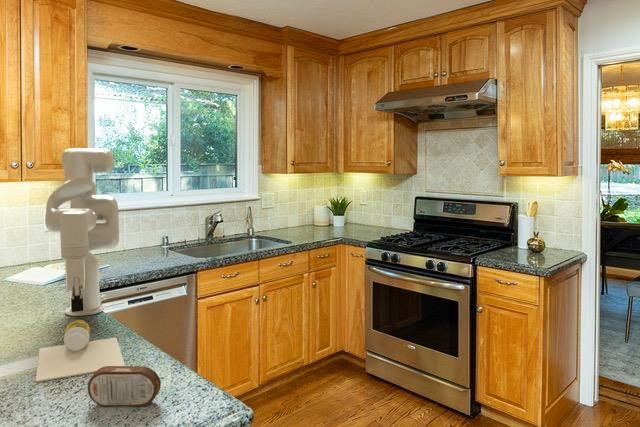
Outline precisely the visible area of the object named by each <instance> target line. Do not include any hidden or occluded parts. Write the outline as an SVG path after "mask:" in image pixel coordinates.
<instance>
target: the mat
mask: <svg viewBox="0 0 640 427" xmlns="http://www.w3.org/2000/svg"><path fill="white" fill-rule="evenodd" d="M37 360H38V361H37V368H36V377H35V383H41V382H42V383H43V382H47V381H52V380H53V381H54V380H58V379H66V378H71V376H72V377H76V376H77V375H78V376H83V375H89V374H94V372H96V371H97V370H98V369H100V368H102V367H105V366H126V364H125V360H124V357H123V355H122V351H121V348H120V345H119V343H118V340H117V337H110V338H104V339H97V340H89V342H88V343H87V345H86V346H85V347H83V348H82V349H80V350H77V351H73V350H71V349H69V348H68V347H67V346H66V345H65V344H63V345H62V344H61V345H54V346H47V347H41V348H40V347H39V352H38V359H37Z"/></svg>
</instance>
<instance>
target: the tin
mask: <svg viewBox="0 0 640 427" xmlns="http://www.w3.org/2000/svg"><path fill="white" fill-rule="evenodd" d="M92 374H93V375H92V376H91V377H90V379H89V381H88V383H87V392H88V396H89V398H90V399H91V401H92V402H93V403H95V404H97V405H99V406H101V407H105V406H141V407H145V406H148V405H149V404H151V403H152V402H153V401H154V400H155V398H156V397H157V396H158V394H159V392H160V390H161V384H162V383H161V379H160V376H159V375H158V374H157V372H156V371H155V370H154V369H152V368H150V367H147V366H144V365H138V366H137V365H133V366H132V365H129V366H128V365H125V366H105V367H102V368H100V369H98V370H97V371H96V372H95V373H92Z"/></svg>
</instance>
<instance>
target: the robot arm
mask: <svg viewBox="0 0 640 427" xmlns="http://www.w3.org/2000/svg"><path fill="white" fill-rule="evenodd" d="M61 163H62V164H61V165H62V168H63V172H64V179H63V180H64V181H63V183H62V184H60V185H59V186H58V187H56V188H55V189H54V191H52V193H51V194H50V196H49V197H48V198H47V201H46V208H45V216H44V217H45V218H44V220H45V227H46V229H47V230H48V231H49V232H51V233H59V234H60V236H59V237H60V238H59V239H60V254H61V255H60V258H62V259H64V260H65V262H64V268H65V269H64V270H65V272H64V273H65V289H66V292H68V293H69V301H70V302H69V304H70V306H69V307H68V308H66V309H65V314H66V315H68V316H72V317H83V316H92V315H96V314H99V313H101V312H103V311H105V308H106V307H105V305H104V304H102V302H104V301H105V300H107V299H108V296H107V295H106V294H100V269H99V261H98V258H97V257H96V256H95V255H94V254H93V253H92V252H91V251H96V250H97V251H101V250H112V249H116V248H117V247H118V246H119V242H120V224H119V223H120V222H119V220H120V218H119V205H118V204H119V203H118V202H117V199H116V198H115V197H113V196H110V195H97V185H96V183H95V182H94V180H93V178H94V177H93V176H94V175H93V174H110V173H111V172H112V170H113V168H114V164H115V158H114V153H113V151H112V150H111V149H109V148H88V147H87V148H82V147H78V148H77V147H75V148H74V147H73V148H67V149H65V150H64V151H63V152H62V154H61ZM67 202H70V203H69V204H70V207H69V208H68V207H67V208H66V207H60V206H62V205H63V204H65V203H67Z"/></svg>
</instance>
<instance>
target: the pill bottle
mask: <svg viewBox="0 0 640 427" xmlns="http://www.w3.org/2000/svg"><path fill="white" fill-rule="evenodd" d="M65 327H66V328H65V332H64V336H63V343H64V345H66V346H67V347H68V348H69V349H71V350H73V351H77V350H80V349H82V348H83V347H85V346H86V345H87V343H88V342H89V341H90V339H91V338H90V337H91V335H90V334H91V327H90V324H89V323H88V322H87V321H85V320H83V319H75V320H72V321H71V322H69V323H68V324H67V326H65Z"/></svg>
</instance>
